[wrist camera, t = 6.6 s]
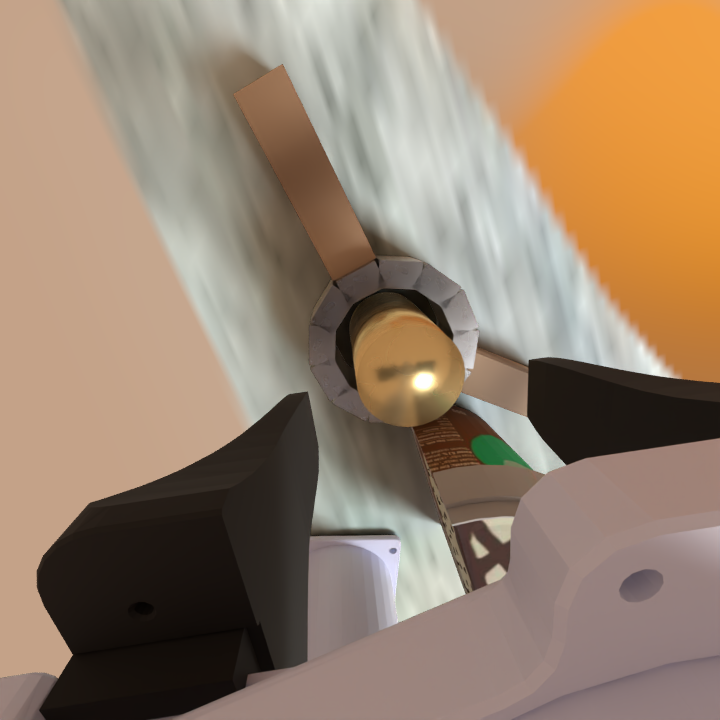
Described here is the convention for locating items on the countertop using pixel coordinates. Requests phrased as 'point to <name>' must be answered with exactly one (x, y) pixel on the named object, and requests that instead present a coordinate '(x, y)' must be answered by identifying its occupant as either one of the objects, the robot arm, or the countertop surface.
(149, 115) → the countertop surface
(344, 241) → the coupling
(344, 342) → the countertop surface
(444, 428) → the food container
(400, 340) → the peg
